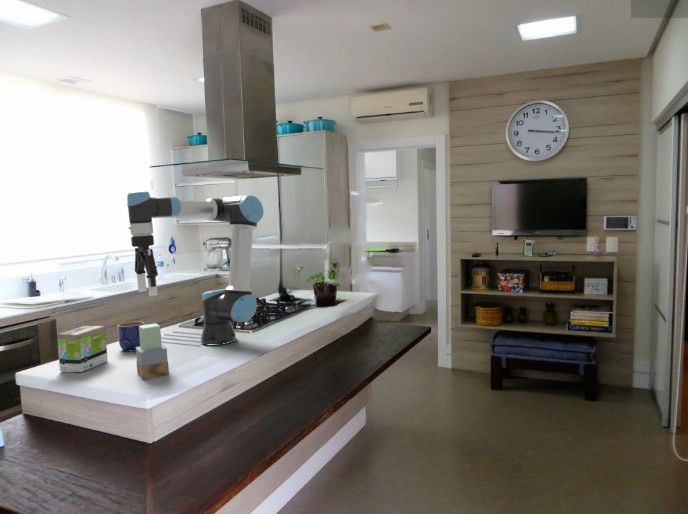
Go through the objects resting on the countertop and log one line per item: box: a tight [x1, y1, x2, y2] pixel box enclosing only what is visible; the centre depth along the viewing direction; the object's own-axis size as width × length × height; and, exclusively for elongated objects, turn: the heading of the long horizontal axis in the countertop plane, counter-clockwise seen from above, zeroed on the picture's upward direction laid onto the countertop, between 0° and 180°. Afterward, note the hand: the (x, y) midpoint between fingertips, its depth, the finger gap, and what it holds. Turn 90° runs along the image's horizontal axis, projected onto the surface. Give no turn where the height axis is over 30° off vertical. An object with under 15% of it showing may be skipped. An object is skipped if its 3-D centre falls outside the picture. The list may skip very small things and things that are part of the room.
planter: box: [116, 320, 145, 352], centre depth 223 cm, size 11×11×11 cm
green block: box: [139, 322, 163, 351], centre depth 185 cm, size 6×6×8 cm
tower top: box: [135, 342, 169, 367], centre depth 186 cm, size 9×9×5 cm
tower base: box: [136, 360, 170, 381], centre depth 186 cm, size 9×9×5 cm
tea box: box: [57, 325, 108, 373], centre depth 199 cm, size 15×10×15 cm
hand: (147, 293), depth 187 cm, fingers open, 13 cm apart
